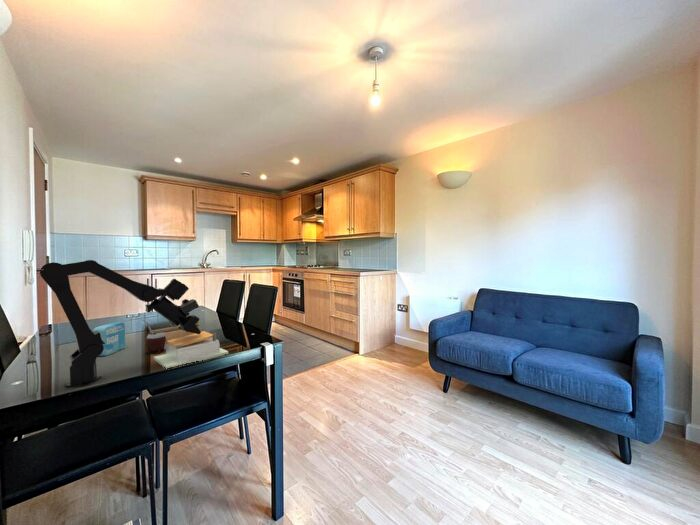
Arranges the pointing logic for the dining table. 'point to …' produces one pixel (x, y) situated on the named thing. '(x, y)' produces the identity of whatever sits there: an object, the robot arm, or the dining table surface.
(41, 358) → the dining table surface
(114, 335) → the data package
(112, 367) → the dining table surface
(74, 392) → the dining table surface
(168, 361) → the board
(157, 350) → the mate gourd
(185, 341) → the thin wooden panel
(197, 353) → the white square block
